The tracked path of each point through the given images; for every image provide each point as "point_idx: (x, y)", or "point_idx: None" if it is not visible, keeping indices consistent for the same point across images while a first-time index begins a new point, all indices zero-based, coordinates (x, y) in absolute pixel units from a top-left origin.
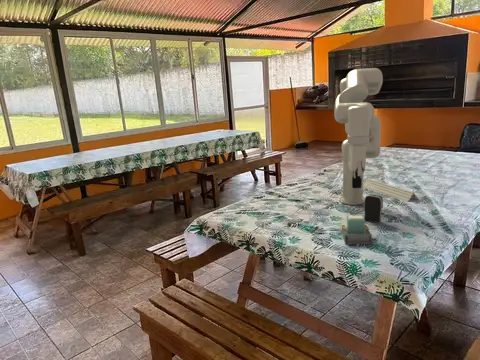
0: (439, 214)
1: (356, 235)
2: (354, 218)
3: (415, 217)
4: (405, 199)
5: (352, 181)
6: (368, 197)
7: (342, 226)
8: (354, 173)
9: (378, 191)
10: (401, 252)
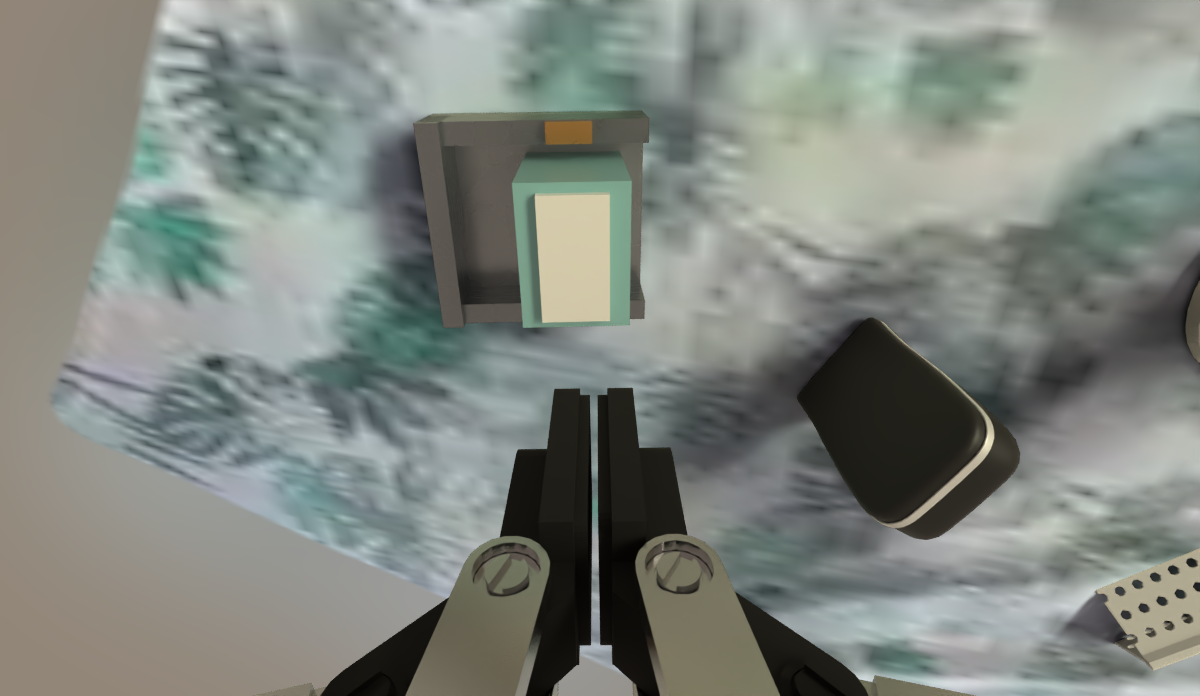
0: (866, 670)
1: (429, 217)
2: (538, 244)
3: (849, 579)
4: (1128, 594)
5: (607, 454)
6: (952, 443)
7: (618, 120)
8: (416, 687)
9: None
10: (373, 433)
